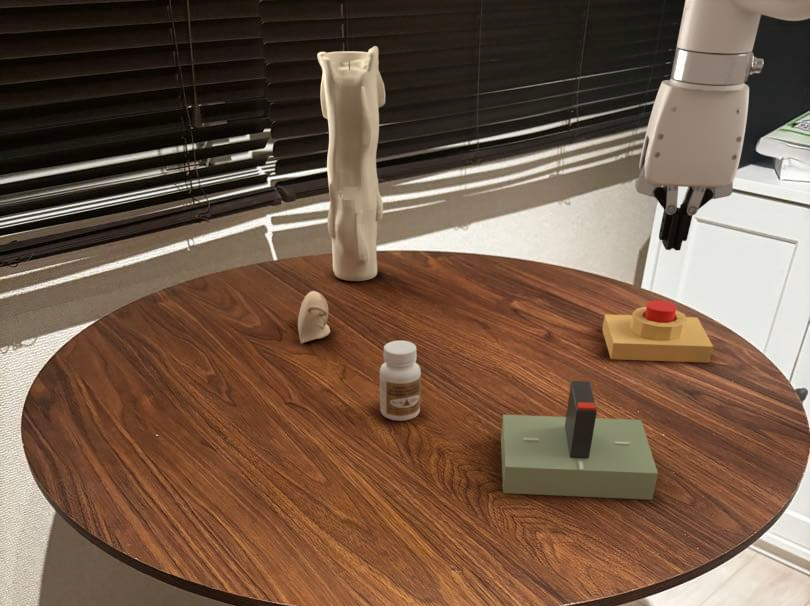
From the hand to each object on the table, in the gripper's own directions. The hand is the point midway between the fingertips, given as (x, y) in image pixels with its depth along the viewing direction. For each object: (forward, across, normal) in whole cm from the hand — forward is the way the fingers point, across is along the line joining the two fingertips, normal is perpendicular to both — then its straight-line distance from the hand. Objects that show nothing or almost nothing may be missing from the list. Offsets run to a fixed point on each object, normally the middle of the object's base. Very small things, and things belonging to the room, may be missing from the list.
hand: (670, 246), depth 96 cm
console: (+12, +12, +30) cm, 35 cm away
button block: (+12, 0, 0) cm, 13 cm away
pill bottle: (+13, +30, +20) cm, 39 cm away
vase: (+13, +40, -22) cm, 48 cm away
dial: (+9, +13, +30) cm, 34 cm away
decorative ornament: (+13, +44, 0) cm, 45 cm away
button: (+9, 0, 0) cm, 9 cm away
